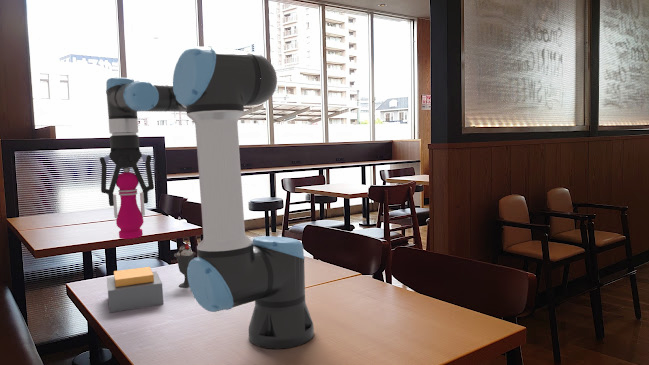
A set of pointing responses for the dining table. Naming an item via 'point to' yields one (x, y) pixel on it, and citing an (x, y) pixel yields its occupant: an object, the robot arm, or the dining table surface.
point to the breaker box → (134, 294)
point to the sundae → (184, 261)
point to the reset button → (133, 276)
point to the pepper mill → (128, 206)
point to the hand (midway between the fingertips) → (129, 216)
